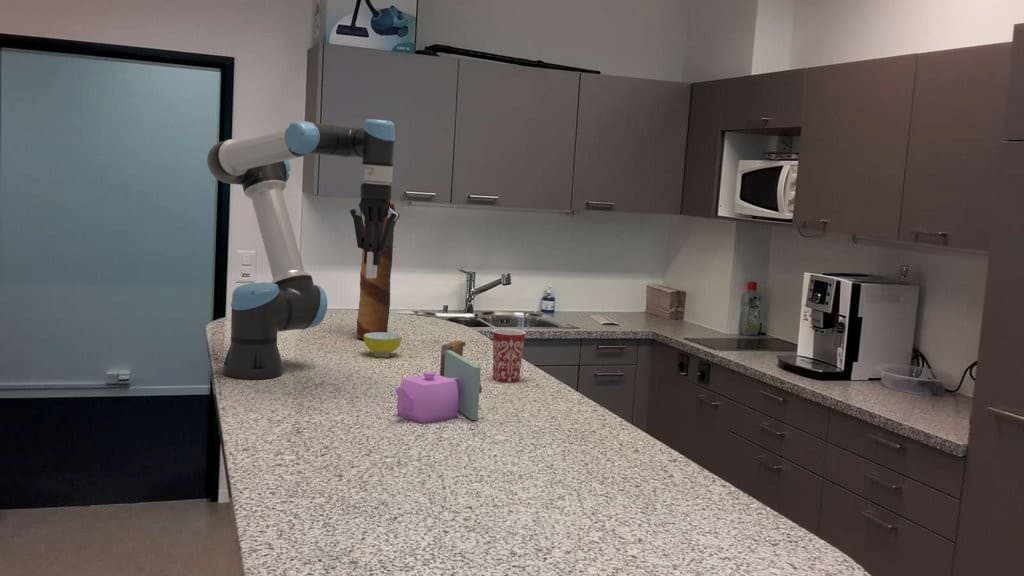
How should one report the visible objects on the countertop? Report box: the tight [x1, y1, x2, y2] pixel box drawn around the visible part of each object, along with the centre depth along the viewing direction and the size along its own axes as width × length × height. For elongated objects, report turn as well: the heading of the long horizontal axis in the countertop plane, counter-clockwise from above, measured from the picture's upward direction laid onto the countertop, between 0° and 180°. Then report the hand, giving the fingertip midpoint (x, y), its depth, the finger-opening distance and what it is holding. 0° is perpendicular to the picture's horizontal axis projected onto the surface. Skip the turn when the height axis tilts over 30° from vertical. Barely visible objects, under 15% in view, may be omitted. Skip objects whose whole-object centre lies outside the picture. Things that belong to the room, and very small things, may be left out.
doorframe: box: [439, 340, 466, 377], centre depth 231 cm, size 3×10×13 cm, turn 161°
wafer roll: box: [356, 201, 396, 340], centre depth 300 cm, size 10×11×45 cm
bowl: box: [363, 332, 403, 358], centre depth 276 cm, size 11×12×6 cm
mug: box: [492, 328, 527, 383], centre depth 255 cm, size 13×9×14 cm
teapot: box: [394, 371, 460, 424], centre depth 209 cm, size 18×10×10 cm, turn 134°
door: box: [444, 350, 483, 421], centre depth 217 cm, size 20×3×12 cm, turn 23°
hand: (371, 277), depth 231 cm, fingers closed
